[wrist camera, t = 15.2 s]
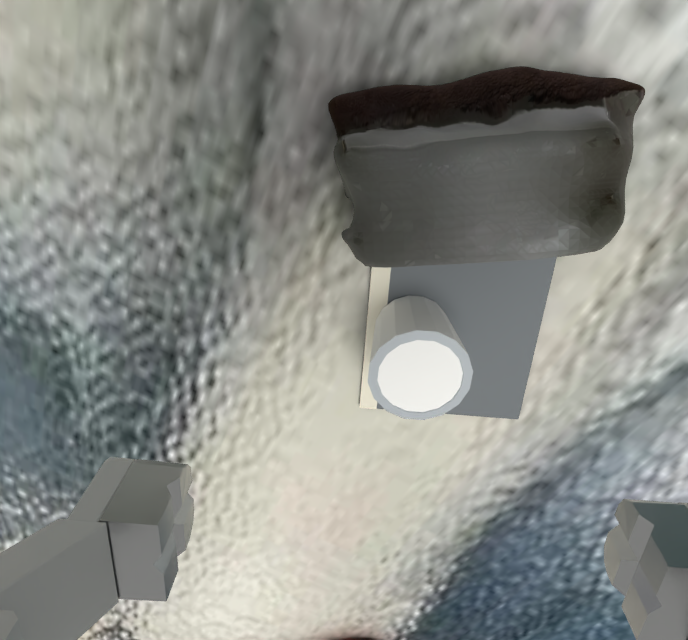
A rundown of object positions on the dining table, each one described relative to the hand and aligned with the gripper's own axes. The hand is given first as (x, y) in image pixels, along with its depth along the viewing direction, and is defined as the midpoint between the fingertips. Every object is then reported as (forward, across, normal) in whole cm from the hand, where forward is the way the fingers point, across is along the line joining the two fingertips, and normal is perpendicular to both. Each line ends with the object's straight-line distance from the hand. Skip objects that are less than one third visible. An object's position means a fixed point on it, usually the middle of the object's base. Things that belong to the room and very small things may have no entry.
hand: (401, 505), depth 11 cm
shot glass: (+31, -3, +11) cm, 33 cm away
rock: (+32, -6, -1) cm, 32 cm away
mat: (+31, -6, +12) cm, 34 cm away
